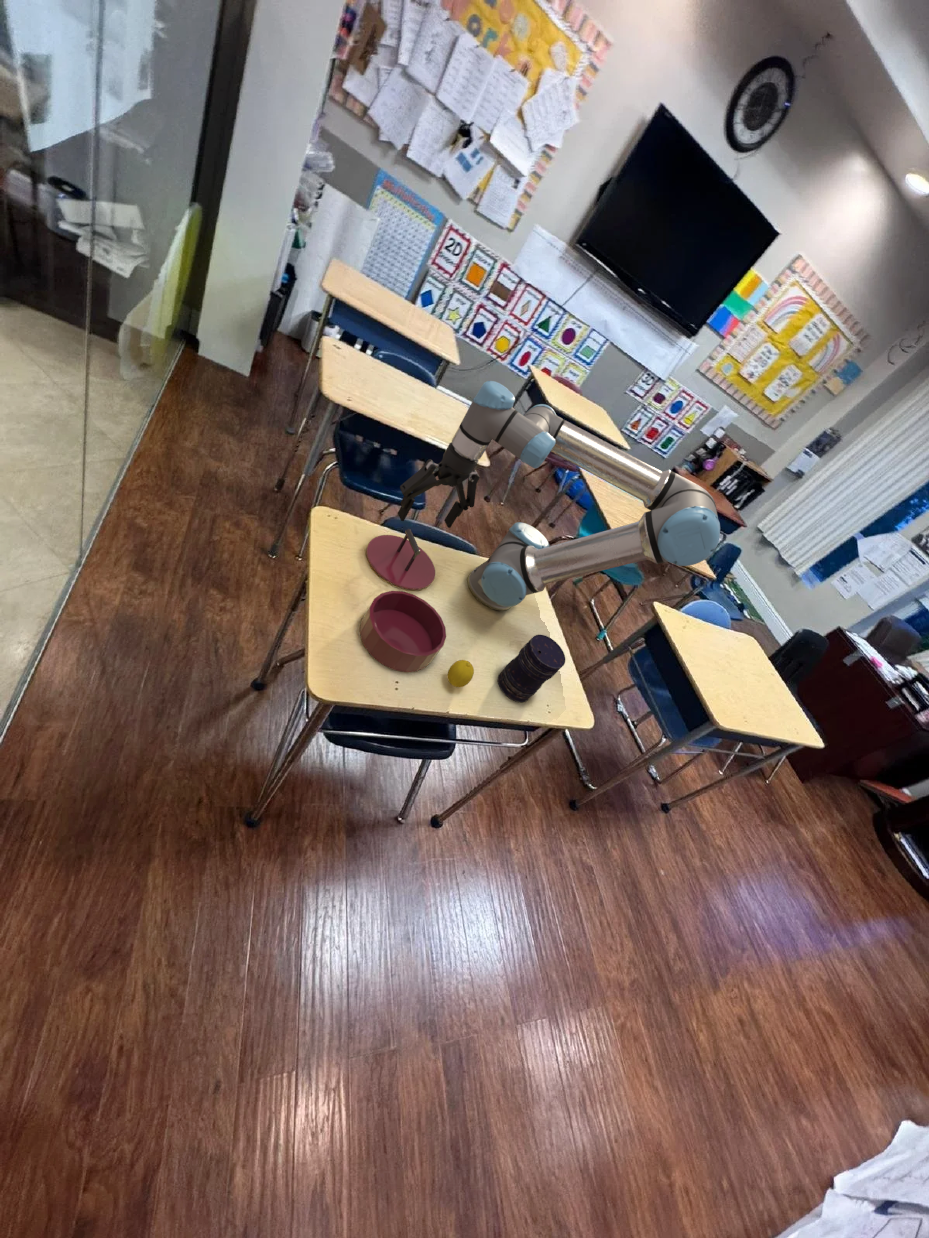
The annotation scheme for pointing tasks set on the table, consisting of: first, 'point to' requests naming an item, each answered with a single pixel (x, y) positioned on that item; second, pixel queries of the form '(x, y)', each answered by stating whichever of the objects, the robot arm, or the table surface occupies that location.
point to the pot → (402, 631)
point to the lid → (401, 561)
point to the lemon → (460, 673)
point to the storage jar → (531, 668)
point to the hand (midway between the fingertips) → (424, 520)
